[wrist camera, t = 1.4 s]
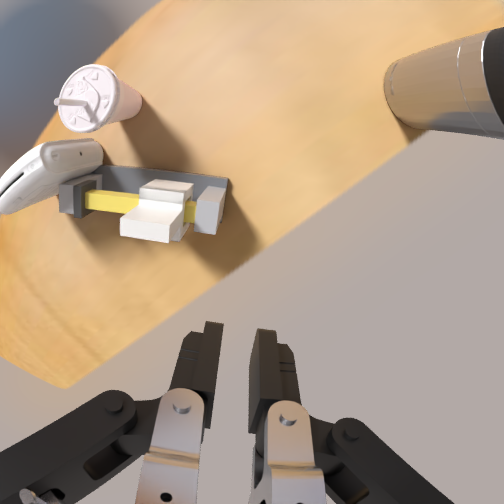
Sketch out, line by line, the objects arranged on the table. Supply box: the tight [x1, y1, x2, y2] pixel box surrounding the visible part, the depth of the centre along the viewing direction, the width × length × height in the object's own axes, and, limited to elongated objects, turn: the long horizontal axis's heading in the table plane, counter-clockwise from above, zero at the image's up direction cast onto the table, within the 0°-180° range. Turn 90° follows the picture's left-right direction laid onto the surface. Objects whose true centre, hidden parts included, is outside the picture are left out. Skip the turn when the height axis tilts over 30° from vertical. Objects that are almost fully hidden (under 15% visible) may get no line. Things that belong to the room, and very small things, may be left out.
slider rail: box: [59, 165, 228, 235], centre depth 28 cm, size 17×5×8 cm, turn 80°
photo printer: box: [0, 138, 103, 215], centre depth 24 cm, size 10×4×12 cm, turn 111°
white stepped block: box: [120, 179, 194, 243], centre depth 24 cm, size 4×4×8 cm
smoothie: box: [54, 64, 142, 133], centre depth 21 cm, size 6×6×14 cm
